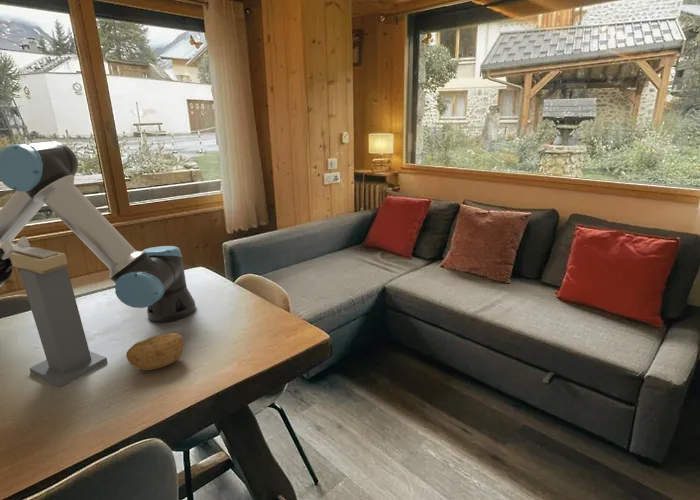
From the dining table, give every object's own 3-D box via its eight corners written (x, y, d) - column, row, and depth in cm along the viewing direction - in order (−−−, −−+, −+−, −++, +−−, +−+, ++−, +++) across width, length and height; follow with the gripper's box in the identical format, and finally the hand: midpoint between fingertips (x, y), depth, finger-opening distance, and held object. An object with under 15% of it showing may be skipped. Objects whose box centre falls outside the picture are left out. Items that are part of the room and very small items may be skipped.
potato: (129, 364, 110) (123, 338, 108) (184, 349, 117) (179, 324, 114) (130, 383, 102) (124, 356, 100) (189, 366, 109) (185, 340, 106)
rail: (58, 264, 99) (55, 252, 98) (45, 268, 96) (41, 256, 95) (9, 252, 109) (6, 241, 108) (-4, 255, 106) (-8, 244, 106)
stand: (107, 362, 111) (79, 249, 101) (61, 387, 101) (24, 265, 91) (77, 350, 118) (47, 243, 107) (30, 373, 108) (-7, 257, 97)
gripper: (30, 276, 122) (59, 247, 109) (-38, 297, 108) (-14, 266, 95) (17, 254, 121) (45, 222, 109) (-53, 272, 108) (-30, 238, 95)
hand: (17, 243), depth 102 cm, fingers closed on rail, 3 cm apart
